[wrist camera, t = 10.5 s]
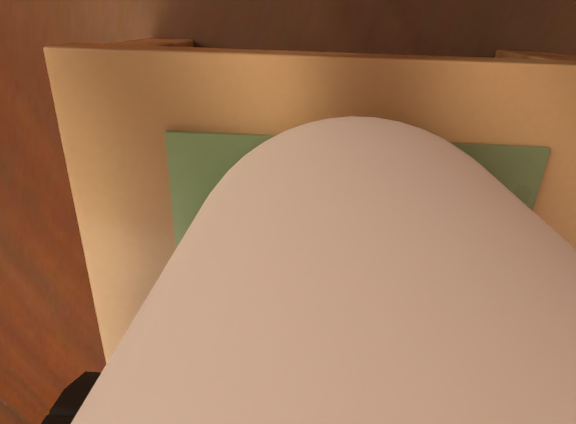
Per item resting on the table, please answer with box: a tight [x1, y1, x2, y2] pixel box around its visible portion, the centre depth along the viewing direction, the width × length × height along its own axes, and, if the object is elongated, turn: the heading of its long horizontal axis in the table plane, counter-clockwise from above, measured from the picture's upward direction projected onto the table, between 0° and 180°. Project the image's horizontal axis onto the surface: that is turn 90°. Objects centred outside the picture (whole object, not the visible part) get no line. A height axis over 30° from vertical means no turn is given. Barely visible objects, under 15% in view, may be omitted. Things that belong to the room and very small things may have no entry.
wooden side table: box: [43, 38, 576, 364], centre depth 17 cm, size 16×14×8 cm
